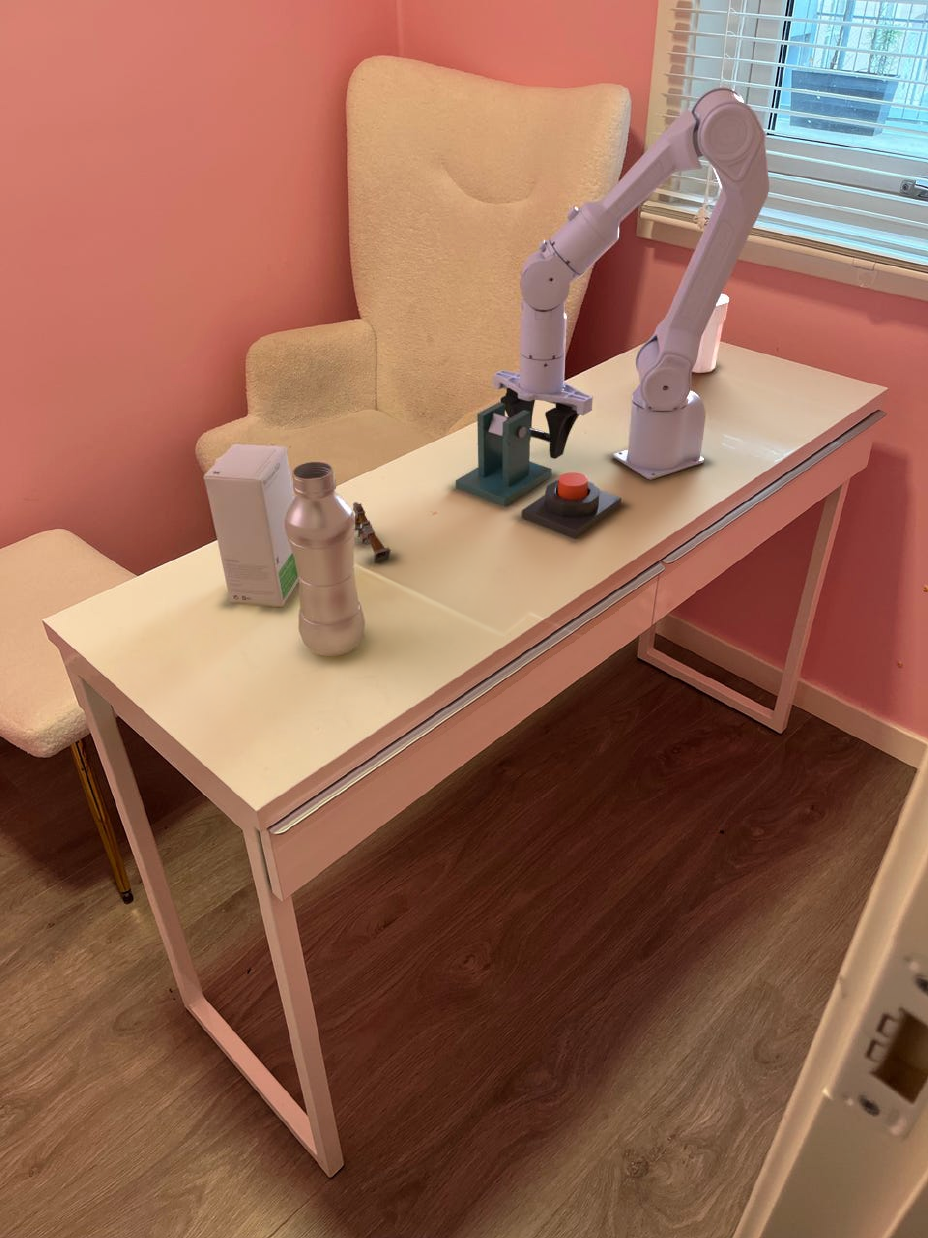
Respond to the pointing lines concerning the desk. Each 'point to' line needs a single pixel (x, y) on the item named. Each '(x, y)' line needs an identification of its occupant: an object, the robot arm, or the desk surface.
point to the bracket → (503, 460)
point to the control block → (571, 510)
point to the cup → (711, 338)
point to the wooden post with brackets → (368, 533)
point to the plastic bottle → (324, 562)
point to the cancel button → (572, 485)
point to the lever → (498, 420)
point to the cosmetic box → (253, 523)
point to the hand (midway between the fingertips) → (539, 449)
